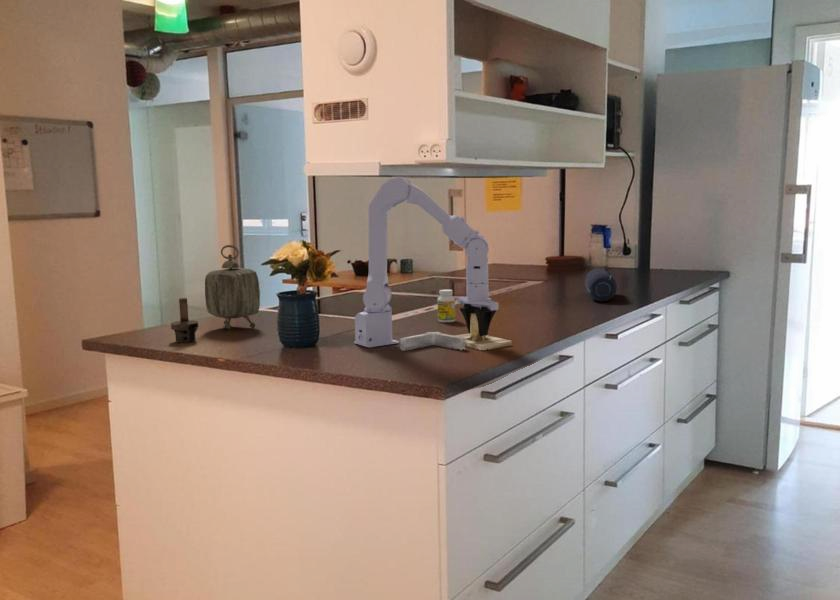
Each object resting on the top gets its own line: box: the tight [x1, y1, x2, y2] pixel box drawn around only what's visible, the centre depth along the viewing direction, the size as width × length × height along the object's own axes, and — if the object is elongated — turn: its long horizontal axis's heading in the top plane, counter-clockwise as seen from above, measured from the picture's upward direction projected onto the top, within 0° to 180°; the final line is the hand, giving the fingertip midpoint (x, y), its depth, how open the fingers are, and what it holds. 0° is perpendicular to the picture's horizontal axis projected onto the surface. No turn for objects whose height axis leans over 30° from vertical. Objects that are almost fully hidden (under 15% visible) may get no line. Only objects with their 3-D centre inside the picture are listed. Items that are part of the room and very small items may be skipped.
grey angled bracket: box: [399, 331, 466, 352], centre depth 200 cm, size 9×16×3 cm, turn 87°
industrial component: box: [170, 297, 199, 343], centre depth 214 cm, size 9×7×12 cm
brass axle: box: [470, 312, 486, 342], centre depth 203 cm, size 4×4×8 cm
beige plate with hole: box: [455, 333, 513, 351], centre depth 203 cm, size 15×10×1 cm, turn 34°
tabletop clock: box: [204, 244, 261, 331], centre depth 231 cm, size 14×9×25 cm, turn 59°
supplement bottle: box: [437, 289, 456, 323], centre depth 237 cm, size 5×5×10 cm
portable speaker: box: [584, 267, 618, 303], centre depth 280 cm, size 25×10×10 cm, turn 171°
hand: (477, 334), depth 203 cm, fingers closed on brass axle, 4 cm apart
